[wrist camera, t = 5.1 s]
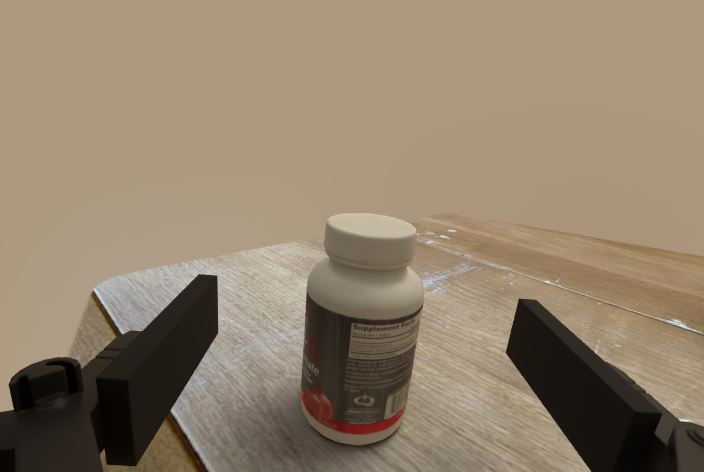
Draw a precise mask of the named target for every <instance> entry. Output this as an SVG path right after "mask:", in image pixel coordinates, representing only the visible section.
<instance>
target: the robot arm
mask: <svg viewBox="0 0 704 472" xmlns="http://www.w3.org/2000/svg"><path fill="white" fill-rule="evenodd" d="M217 334H218V286H217V276H214V275H201V274H199V275H198V276H197V277H196V278H195V279H194V280H193V281H192V282H191V283H190V284H189V285H188V286H187V287H186V288H185V289H184V290H183V291H182V292H181V293H180V294H179V295H178V296H177V297H176V298H175V299H174V300H173V301H172V302H171V303H170V304H169V305H168V306H167V307H166V308H165V309H164V310H163V311H162V312H161V313H160V314H159V315H158V316H157V317H156V318H155V319H154V320H153V321H152V322H151V323H150V324H149V325H148V326H147V327H146V328H145V329H144V330H143V331H129V332H127V333H125V334H123V335H121V336H119V337H117V338H115V339H114V340H113V341H112V342H111V343H110V344H109V345H108V346H106V347H105V348H104V350H102V351H101V352H100V353H99V354H98V355H97V356H96V357H95V359H92V360H91V361H90V362H89V363H88V364H87V365H86V366H85V367H84V368H82V369H81V366H80V363H79V362H78V361H77V360H76V359H72V358H69V357H61V358H60V357H57V358H52V359H47V360H43V361H40V362H37V363H34V364H31V365H29V366H27V367H26V368H24V369H22V370H20V371H19V372H18V373H17V374H15V375H14V376H13V377H12V378H11V381H10V383H9V388H10V393H11V398H12V402H13V407H14V410H11V411H5V412H0V472H103V467H102V463H101V459H100V453H101V452H102V451H103V449H104V448H105V455H106V463H107V465H122V466H136V465H137V464H138V462H139V460H140V459H141V457H142V456H143V454H144V452H145V451H146V449H147V447H148V446H149V444H150V443H151V441H152V439H153V438H154V436H155V434H156V433H157V431H158V430H159V428H160V426H161V425H162V423H163V422H164V420H165V418H166V417H167V415H168V413H169V412H170V410H171V409H172V407H173V405H174V404H175V402H176V400H177V399H178V397H179V396H180V394H181V392H182V391H183V389H184V387H185V386H186V384H187V383H188V381H189V379H190V378H191V376H192V375H193V373H194V371H195V370H196V368H197V366H198V365H199V363H200V362H201V360H202V358H203V357H204V355H205V353H206V352H207V350H208V349H209V347H210V345H211V344H212V342H213V340H214V339H215V337H216V336H217ZM506 354H507V355H508V357H509V358H510V359H511V361H512V362H513V363H514V365H515V366H516V368H517V369H518V370H519V372H520V373H521V375H522V376H523V377H524V379H525V380H526V382H527V383H528V384H529V386H530V387H531V388H532V390H533V391H534V393H535V394H536V395H537V397H538V398H539V400H540V401H541V402H542V404H543V405H544V407H545V408H546V409H547V411H548V412H549V413H550V415H551V416H552V418H553V419H554V420H555V422H556V423H557V425H558V426H559V427H560V429H561V430H562V432H563V433H564V434H565V436H566V437H567V438H568V440H569V441H570V443H571V444H572V445H573V447H574V448H575V450H576V451H577V452H578V454H579V455H580V457H581V458H582V459H583V461H584V462H585V463H586V465H587V466H588V468H589V469H590V470H591V472H704V427H703V426H700V425H697V424H694V423H690V422H683V421H682V422H681V421H679V420H678V419H677V418H676V417H675V416H674V415H672V414H671V413H670V412H669V411H668V410H667V409H666V408H664V407H663V406H662V405H661V404H660V403H659V402H658V401H656V400H655V399H654V398H653V397H652V396H651V395H650V394H648V393H646V391H645V390H644V389H643V388H641V387H640V386H639V385H637V384H636V382H635V381H633V380H632V379H631V378H630V377H629V376H628V375H627V374H625V373H624V372H623V371H621V370H620V369H618V368H616V367H615V366H613V365H611V364H610V363H608V362H605V361H604V360H602V359H601V358H600V357H599V356H598V355H597V354H596V353H595V352H594V351H592V350H591V349H590V348H589V347H588V346H587V345H586V344H585V343H583V342H582V341H581V340H580V339H579V338H578V337H577V336H576V335H575V334H573V333H572V332H571V331H570V330H569V329H568V328H567V327H566V326H564V325H563V324H562V323H561V322H560V321H559V320H558V319H557V318H556V317H554V316H553V315H552V314H551V313H550V312H549V311H548V310H547V309H545V308H544V307H543V306H542V305H541V304H540V303H539V302H538V301H537V300H530V299H519V301H518V305H517V309H516V313H515V317H514V321H513V325H512V329H511V333H510V338H509V342H508V346H507V350H506Z"/></svg>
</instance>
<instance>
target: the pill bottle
mask: <svg viewBox="0 0 704 472" xmlns="http://www.w3.org/2000/svg"><path fill="white" fill-rule="evenodd" d="M415 242H416V229H415V227H414V226H413V225H411V224H410V223H408V222H405V221H403V220H399V219H396V218H393V217H388V216H383V215H377V214H367V213H346V214H338V215H334V216H332V217H330V218H329V219H328V220H327V223H326V230H325V239H324V246H325V251H326V254H327V255H328V256H329V258H326V259H324V260H322V261H321V262H319V263H318V264H317V265H316V266H315V267H314V268H313V269H312V271H311V273H310V275H309V278H308V284H307V296H306V314H305V332H304V350H303V368H302V380H301V406H302V410H303V413H304V415H305V417H306V419H307V420H308V422H309V423H310V425H311V426H312V427H314V428H315V429H316V430H317V431H318V432H319V433H321V434H322V435H324V436H325V437H327V438H329V439H331V440H334V441H336V442H339V443H344V444H350V445H365V444H370V443H374V442H377V441H380V440H383V439H385V438H386V437H388V436H390V435H391V434H392V433H393V432H394V431H395V430H396V429H397V428H398V427H399V425H400V424H401V422H402V420H403V417H404V413H405V408H406V403H407V397H408V391H409V385H410V379H411V373H412V368H413V362H414V355H415V349H416V342H417V337H418V331H419V324H420V318H421V313H422V308H423V302H424V287H423V284H422V281H421V279H420V278H419V276H418V275H417V274H416V273H415V272H414V271H413V270H412V269H411V268H409V267H407V266H408V265H409V264H411V263H412V261H413V256H414V255H415Z"/></svg>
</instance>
